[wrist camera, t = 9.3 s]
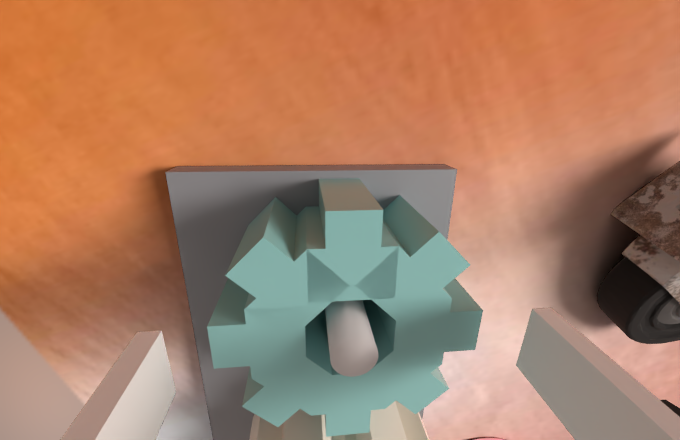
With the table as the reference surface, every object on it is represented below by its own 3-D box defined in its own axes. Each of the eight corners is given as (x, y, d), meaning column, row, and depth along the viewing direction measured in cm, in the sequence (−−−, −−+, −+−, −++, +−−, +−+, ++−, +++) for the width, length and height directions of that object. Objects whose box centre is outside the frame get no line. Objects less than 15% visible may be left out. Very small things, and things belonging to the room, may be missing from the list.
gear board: (177, 166, 16) (77, 214, 9) (444, 164, 17) (540, 204, 10) (226, 462, 23) (193, 615, 16) (409, 443, 25) (451, 576, 18)
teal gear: (225, 179, 15) (188, 214, 10) (444, 177, 16) (503, 207, 11) (245, 360, 18) (226, 446, 14) (423, 347, 20) (460, 423, 15)
